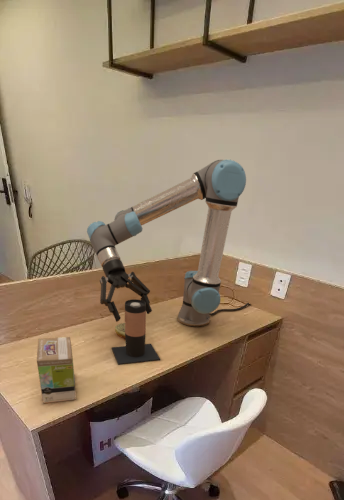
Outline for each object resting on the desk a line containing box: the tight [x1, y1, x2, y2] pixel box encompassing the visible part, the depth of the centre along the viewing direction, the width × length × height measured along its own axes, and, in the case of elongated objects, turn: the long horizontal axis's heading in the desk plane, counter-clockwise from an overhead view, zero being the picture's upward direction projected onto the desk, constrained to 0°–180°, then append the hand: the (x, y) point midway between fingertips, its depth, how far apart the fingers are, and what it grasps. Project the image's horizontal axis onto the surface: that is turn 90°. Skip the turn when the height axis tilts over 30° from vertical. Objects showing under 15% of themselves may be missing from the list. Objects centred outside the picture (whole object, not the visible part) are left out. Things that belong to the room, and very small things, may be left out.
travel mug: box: [124, 298, 147, 357], centre depth 125 cm, size 8×8×20 cm
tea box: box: [36, 336, 77, 404], centre depth 105 cm, size 15×10×15 cm, turn 17°
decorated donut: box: [114, 322, 125, 339], centre depth 144 cm, size 10×11×4 cm
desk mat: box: [111, 343, 161, 366], centre depth 130 cm, size 16×13×1 cm
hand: (134, 316), depth 123 cm, fingers open, 13 cm apart
